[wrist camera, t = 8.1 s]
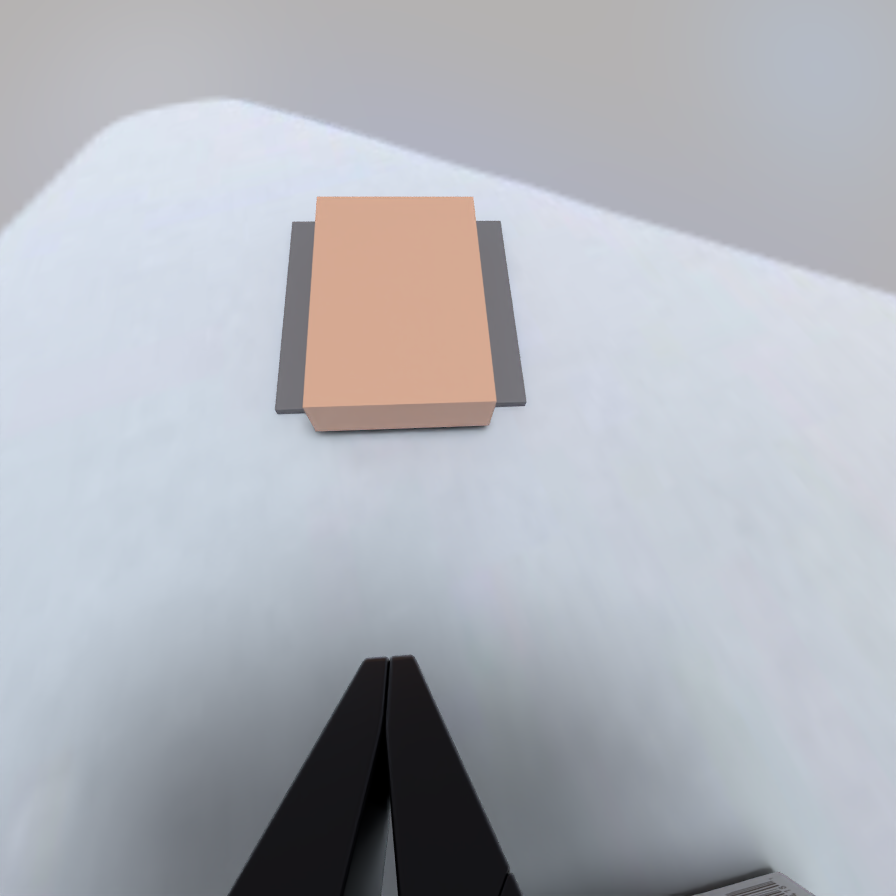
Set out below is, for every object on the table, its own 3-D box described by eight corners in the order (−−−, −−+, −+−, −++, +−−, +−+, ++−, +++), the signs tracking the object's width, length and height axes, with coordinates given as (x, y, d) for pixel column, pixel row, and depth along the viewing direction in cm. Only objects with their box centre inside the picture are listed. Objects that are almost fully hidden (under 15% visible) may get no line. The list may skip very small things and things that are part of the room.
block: (496, 401, 19) (473, 196, 23) (302, 407, 18) (316, 196, 22) (488, 427, 21) (468, 237, 25) (316, 433, 20) (327, 238, 25)
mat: (524, 405, 22) (526, 401, 22) (277, 413, 21) (275, 409, 21) (499, 226, 26) (500, 221, 26) (294, 227, 26) (292, 221, 25)
